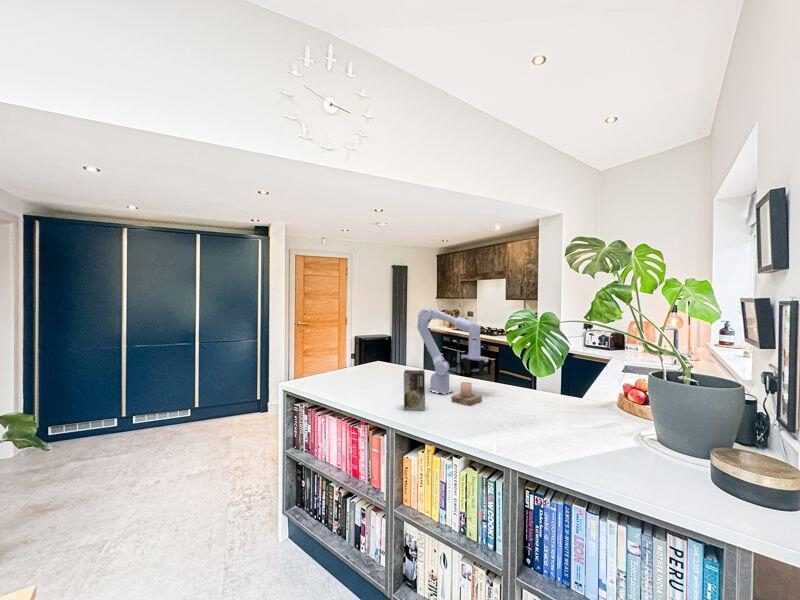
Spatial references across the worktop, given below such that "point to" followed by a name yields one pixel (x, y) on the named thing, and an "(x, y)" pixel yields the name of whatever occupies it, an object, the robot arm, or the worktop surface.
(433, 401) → the worktop surface
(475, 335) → the robot arm
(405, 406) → the coffee box
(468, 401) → the walnut base
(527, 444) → the worktop surface
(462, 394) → the terracotta cylinder
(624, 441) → the worktop surface
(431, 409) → the worktop surface
